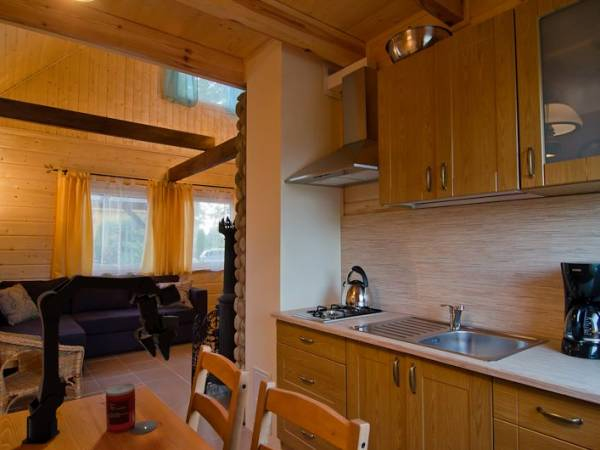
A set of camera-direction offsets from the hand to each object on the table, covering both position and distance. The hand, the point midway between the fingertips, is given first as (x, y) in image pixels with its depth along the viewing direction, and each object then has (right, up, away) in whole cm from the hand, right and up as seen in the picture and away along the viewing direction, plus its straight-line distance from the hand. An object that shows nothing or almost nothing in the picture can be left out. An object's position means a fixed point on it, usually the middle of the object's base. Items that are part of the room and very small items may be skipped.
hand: (160, 358), depth 125 cm
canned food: (-6, -15, -15) cm, 22 cm away
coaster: (0, -15, -15) cm, 21 cm away
